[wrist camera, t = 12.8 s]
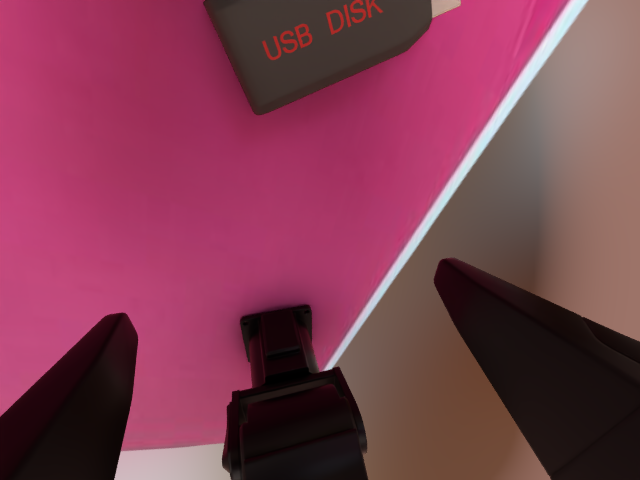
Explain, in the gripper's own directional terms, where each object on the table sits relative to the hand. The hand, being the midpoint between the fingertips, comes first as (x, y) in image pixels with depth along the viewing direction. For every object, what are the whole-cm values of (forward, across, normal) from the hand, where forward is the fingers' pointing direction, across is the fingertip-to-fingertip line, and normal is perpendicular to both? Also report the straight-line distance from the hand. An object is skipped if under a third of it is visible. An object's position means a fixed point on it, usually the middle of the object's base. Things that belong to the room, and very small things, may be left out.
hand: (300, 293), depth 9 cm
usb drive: (+13, -5, -7) cm, 16 cm away
